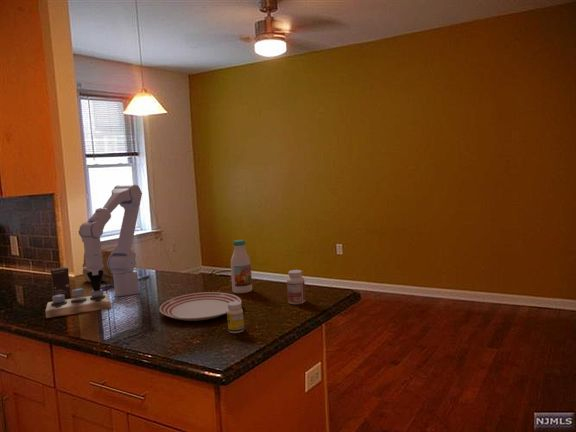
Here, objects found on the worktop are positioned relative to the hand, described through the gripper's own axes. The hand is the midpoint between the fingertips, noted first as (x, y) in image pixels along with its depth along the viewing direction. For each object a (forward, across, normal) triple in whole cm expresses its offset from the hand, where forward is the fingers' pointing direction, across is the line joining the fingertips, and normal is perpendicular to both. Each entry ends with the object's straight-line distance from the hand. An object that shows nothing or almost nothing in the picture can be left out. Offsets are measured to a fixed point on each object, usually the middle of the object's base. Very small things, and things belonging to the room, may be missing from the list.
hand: (97, 290), depth 175 cm
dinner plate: (+6, +30, +32) cm, 44 cm away
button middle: (+1, 0, -6) cm, 7 cm away
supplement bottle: (+6, +54, +37) cm, 66 cm away
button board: (+5, +1, -6) cm, 9 cm away
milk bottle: (+6, +13, +52) cm, 54 cm away
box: (+6, -19, -13) cm, 24 cm away
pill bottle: (+6, +38, +64) cm, 75 cm away
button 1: (+2, 0, -13) cm, 13 cm away
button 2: (+2, 0, 0) cm, 2 cm away
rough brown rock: (+6, -39, +6) cm, 40 cm away
